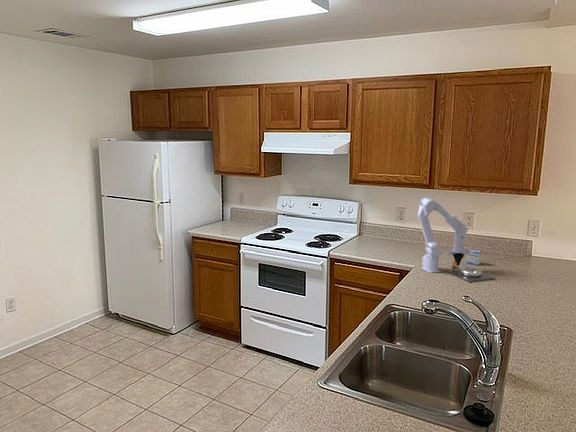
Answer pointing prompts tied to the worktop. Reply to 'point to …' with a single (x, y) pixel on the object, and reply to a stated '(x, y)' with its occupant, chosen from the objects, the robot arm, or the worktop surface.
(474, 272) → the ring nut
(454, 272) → the base plate
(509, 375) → the worktop surface
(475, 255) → the medicine box
